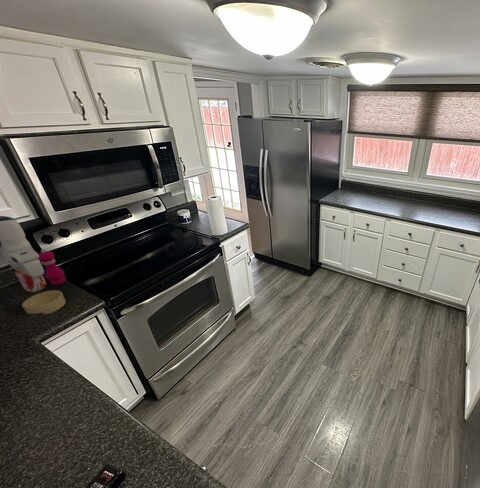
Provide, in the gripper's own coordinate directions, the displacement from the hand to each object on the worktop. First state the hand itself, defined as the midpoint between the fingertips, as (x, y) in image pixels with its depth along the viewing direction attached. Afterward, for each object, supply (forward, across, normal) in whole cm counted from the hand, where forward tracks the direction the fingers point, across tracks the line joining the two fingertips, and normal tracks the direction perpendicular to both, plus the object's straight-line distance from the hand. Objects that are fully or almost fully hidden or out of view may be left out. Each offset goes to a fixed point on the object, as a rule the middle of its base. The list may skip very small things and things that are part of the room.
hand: (32, 280), depth 118 cm
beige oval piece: (+16, 0, 0) cm, 16 cm away
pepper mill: (+16, -22, +14) cm, 31 cm away
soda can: (+5, 0, 0) cm, 5 cm away
